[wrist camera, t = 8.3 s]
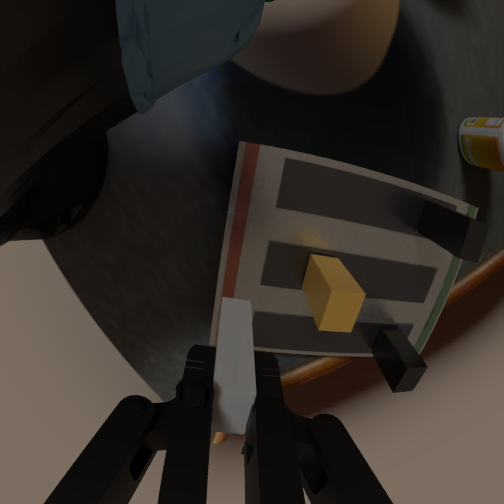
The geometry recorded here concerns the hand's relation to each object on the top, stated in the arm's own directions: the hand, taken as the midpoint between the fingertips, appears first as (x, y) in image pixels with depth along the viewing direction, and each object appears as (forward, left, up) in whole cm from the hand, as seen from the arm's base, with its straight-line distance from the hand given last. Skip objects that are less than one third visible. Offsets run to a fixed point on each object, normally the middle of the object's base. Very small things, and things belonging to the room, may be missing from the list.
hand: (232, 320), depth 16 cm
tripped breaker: (+7, 0, -8) cm, 10 cm away
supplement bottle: (+23, +16, -12) cm, 30 cm away
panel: (+11, 0, -11) cm, 16 cm away
